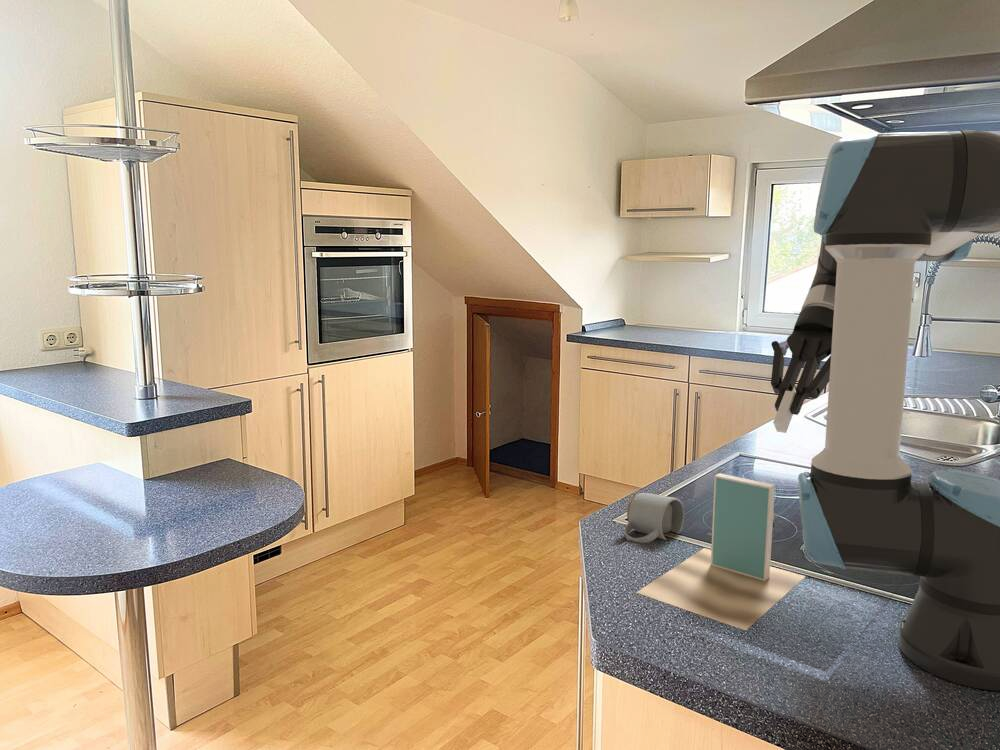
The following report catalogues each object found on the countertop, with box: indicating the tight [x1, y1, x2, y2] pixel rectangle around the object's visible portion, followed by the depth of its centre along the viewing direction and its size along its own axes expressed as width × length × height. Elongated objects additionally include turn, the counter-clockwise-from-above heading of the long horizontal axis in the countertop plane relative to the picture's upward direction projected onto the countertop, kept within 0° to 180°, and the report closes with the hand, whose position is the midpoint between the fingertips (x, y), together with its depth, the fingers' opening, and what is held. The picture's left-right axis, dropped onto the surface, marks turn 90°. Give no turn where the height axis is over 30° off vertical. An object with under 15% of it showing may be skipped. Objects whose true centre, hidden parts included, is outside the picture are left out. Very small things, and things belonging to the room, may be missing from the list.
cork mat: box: [636, 547, 806, 631], centre depth 115 cm, size 22×17×1 cm
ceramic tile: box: [710, 472, 776, 581], centre depth 118 cm, size 2×9×15 cm, turn 48°
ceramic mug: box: [624, 492, 685, 544], centre depth 135 cm, size 11×8×8 cm
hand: (779, 427), depth 124 cm, fingers closed
